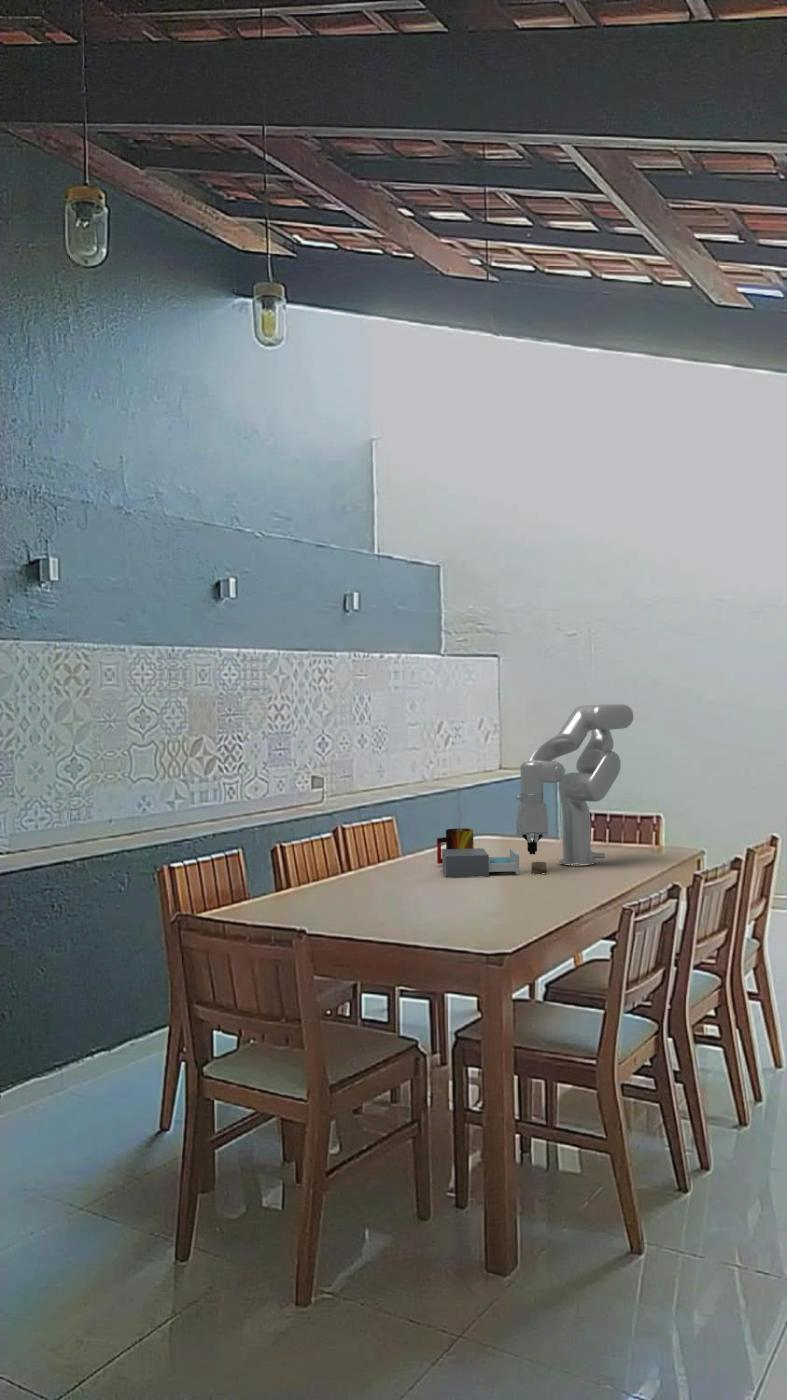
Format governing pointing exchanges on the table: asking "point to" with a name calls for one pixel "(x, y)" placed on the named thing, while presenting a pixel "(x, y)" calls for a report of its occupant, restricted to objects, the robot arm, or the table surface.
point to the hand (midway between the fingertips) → (532, 853)
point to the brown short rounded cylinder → (539, 867)
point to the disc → (500, 860)
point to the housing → (465, 862)
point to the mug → (455, 840)
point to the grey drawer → (506, 866)
